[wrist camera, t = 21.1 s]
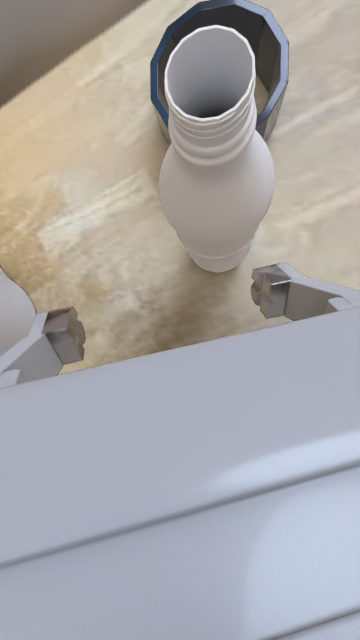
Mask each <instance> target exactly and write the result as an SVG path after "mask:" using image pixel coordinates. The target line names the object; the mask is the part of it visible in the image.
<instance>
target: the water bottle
mask: <svg viewBox="0 0 360 640" xmlns="http://www.w3.org/2000/svg"><path fill="white" fill-rule="evenodd" d="M255 74H256V69H255V55H254V53H253V51H252V49H251V47H250V44H249V42H248V40H247V39H246V38H245V37H243V36H242V35H241V34H240V33H238V32H237V31H236V30H235V29H233V28H229V27H224V26H220V25H213V26H208V27H203V28H198V29H197V30H195V31H194V32H192V33H190V34H189V35H187V36H186V37H184V38H183V39H182V40H181V41H180V42H179V44H178V45H177V46H176V48H175V49H174V50H173V52H172V53H171V54H170V57H169V60H168V63H167V66H166V69H165V80H164V85H165V97H166V99H167V102H168V106H169V120H168V130H169V135H170V139H171V142H172V143H171V145H170V147H169V148H168V150H167V152H166V154H165V157H164V160H163V162H162V166H161V170H160V175H159V195H160V202H161V205H162V208H163V211H164V213H165V216H166V218H167V220H168V221H169V223H170V224H171V226H172V227H173V228H174V229H175V230H176V232H177V235H178V237H179V239H180V241H181V242H182V243H183V245H184V246H185V247H186V248H187V250H188V253H189V255H190V256H191V258H192V260H193V261H194V262H195V263H196V264H197V265H198V266H199V267H201V268H203V269H204V270H207V271H210V272H224V271H227V270H230V269H233V268H234V267H236V266H237V265H238V264H239V263H240V262H241V261H242V260H243V259H244V258H245V256H246V254H247V252H248V250H249V247H250V243H251V241H252V240H253V239H254V237H255V235H256V233H257V230H258V227H259V223H260V222H261V220H262V219H263V217H264V216H265V214H266V213H267V210H268V208H269V206H270V204H271V200H272V196H273V192H274V185H275V173H274V165H273V160H272V156H271V154H270V152H269V149H268V147H267V145H266V143H265V141H264V140H263V138H262V137H261V136H260V134H259V133H258V132H257V131H256V130H255V127H256V121H257V109H256V104H255V98H254V89H255Z"/></svg>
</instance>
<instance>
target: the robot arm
mask: <svg viewBox="0 0 360 640" xmlns="http://www.w3.org/2000/svg"><path fill="white" fill-rule="evenodd" d="M252 279H253V280H254V283H253V284H252V285H251V296H252V299H253V301H254V303H255V304H256V305H258V306H260V311H261V312H262V314H263V315H264V316H265V318H266V319H268V318H273V317H278V316H283V315H284V316H285V317H287V318H289V319H291V320H293V322H289V323H284V324H280V325H275V326H271V327H267V328H262V329H258V330H254V331H249V332H245V333H240V334H236V335H232V336H227V337H223V338H218V339H214V340H210V341H205V342H201V343H197V344H192V345H188V346H183V347H179V348H175V349H170V350H166V351H161V352H157V353H153V354H148V355H144V356H139V357H135V358H131V359H126V360H122V361H118V362H113V363H109V364H104V365H100V366H96V367H91V368H87V369H82V370H78V371H74V372H69V373H65V374H61V375H57V374H58V373H59V371H60V370H61V369H62V367H63V365H65V364H69V363H73V362H77V361H81V360H83V358H84V347H83V344H84V343H85V339H86V337H85V330H84V327H83V325H82V322H80V321H79V320H77V316H78V314H77V311H76V309H75V308H74V307H73V306H72V307H67V308H62V309H56V310H51V311H45V312H41V313H37V314H36V312H35V309H34V306H33V304H32V302H31V300H30V298H29V297H28V295H27V294H26V293H25V291H24V290H23V289H22V288H21V287H20V286H19V285H17V284H16V283H15V282H13V281H12V280H10V279H9V278H8V277H7V276H6V275H5V274H4V272H3V270H2V269H1V267H0V640H360V291H358V290H354V289H351V288H347V287H343V286H339V285H335V284H332V283H328V282H324V281H320V280H316V279H313V278H309V277H307V278H304V277H303V276H302V275H301V274H300V273H298V272H297V271H296V270H295V269H294V268H293V267H291V266H290V265H289V264H288V263H286V262H282V263H278V264H274V265H270V266H266V267H262V268H257V269H253V271H252Z"/></svg>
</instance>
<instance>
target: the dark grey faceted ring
mask: <svg viewBox="0 0 360 640" xmlns="http://www.w3.org/2000/svg"><path fill="white" fill-rule="evenodd" d="M213 25H220V26H224V27H229V28H233V29H235V30H236V31H237V32H238V33H240V34H241V35H242V36H243V37H245V38H246V39H247V40H248V42H249V44H250V47H251V49H252V51H253V53H254V55H255V69H256V73H257V74H258V76H259V78H260V79H261V81H262V83H263V84H264V86H265V88H266V89H267V91H268V93H269V101H268V103H267V105H266V106H265V108H264V110H263V112H262V113H261V114H259V115H258V116H257V121H256V127H255V130H256V131H257V132H258V133H259V134H260V136H261V137H262V138H263V140H264V141H265V142H266V140H267V138H268V136H269V135H270V133H271V131H272V129H273V128H274V126H275V124H276V121H277V117H278V114H279V110H280V107H281V104H282V100H283V97H284V94H285V90H286V87H287V84H288V62H289V41H288V39H287V38H286V36H285V35H284V33H283V31H282V30H281V28H280V26H279V25H278V23H277V21H276V20H275V18H274V17H273V15H272V13H271V12H270V10H268V9H266V8H263V7H261V6H259V5H256V4H254V3H252V2H249V1H247V0H209V1H203V2H199V3H197V4H196V5H194V6H193V7H192V8H191V9H189V10H188V11H187V12H186V13H184V14H183V15H182V16H181V17H179V18H178V19H177V20H176V21H174V22H173V23H172V24H171V25H169V26H168V28H167V29H166V31H165V33H164V35H163V37H162V39H161V41H160V44H159V46H158V48H157V50H156V52H155V54H154V56H153V58H152V60H151V63H150V78H151V101H152V104H153V107H154V110H155V113H156V116H157V119H158V122H159V124H160V127H161V130H162V133H163V136H164V138H165V139H166V141H167V143H168V145H169V146H170V145H171V143H172V142H171V139H170V135H169V130H168V120H169V106H168V102H167V99H166V97H165V85H164V80H165V69H166V66H167V63H168V60H169V57H170V54H171V53H172V52H173V50H174V49H175V48H176V46H177V45H178V44H179V42H180V41H181V40H182V39H183V38H184V37H186V36H187V35H189V34H190V33H192V32H194V31H195V30H197V29H198V28H203V27H208V26H213Z"/></svg>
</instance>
